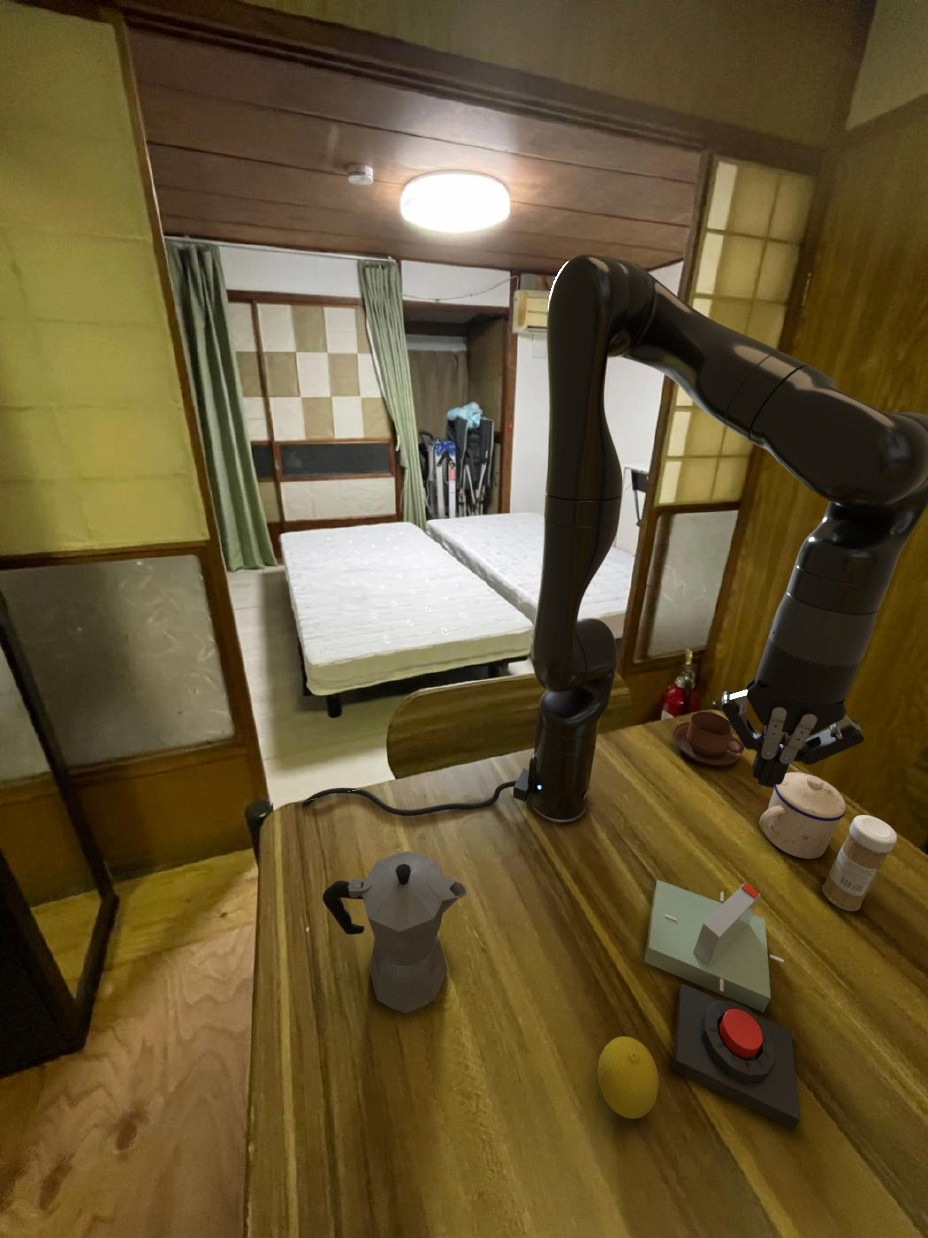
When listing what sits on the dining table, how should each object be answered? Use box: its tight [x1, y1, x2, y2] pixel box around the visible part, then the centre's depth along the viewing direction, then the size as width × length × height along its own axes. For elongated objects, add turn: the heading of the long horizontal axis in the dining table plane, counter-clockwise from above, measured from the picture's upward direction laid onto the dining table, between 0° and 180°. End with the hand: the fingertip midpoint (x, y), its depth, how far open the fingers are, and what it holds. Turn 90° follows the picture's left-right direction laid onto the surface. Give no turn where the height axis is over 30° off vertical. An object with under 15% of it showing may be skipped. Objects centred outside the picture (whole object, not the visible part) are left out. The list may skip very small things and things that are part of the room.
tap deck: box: [643, 879, 785, 1013], centre depth 63 cm, size 15×13×3 cm
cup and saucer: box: [672, 711, 745, 767], centre depth 96 cm, size 12×12×6 cm
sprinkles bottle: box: [821, 814, 898, 912], centre depth 68 cm, size 5×5×14 cm
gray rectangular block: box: [693, 882, 762, 966], centre depth 61 cm, size 9×2×6 cm, turn 125°
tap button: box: [720, 1009, 763, 1058], centre depth 52 cm, size 4×4×2 cm
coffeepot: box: [322, 850, 467, 1015], centre depth 57 cm, size 15×9×18 cm, turn 90°
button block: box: [671, 983, 801, 1131], centre depth 53 cm, size 11×8×4 cm
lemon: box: [597, 1035, 660, 1120], centre depth 49 cm, size 6×6×8 cm
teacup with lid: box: [758, 771, 847, 860], centre depth 77 cm, size 12×9×12 cm
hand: (764, 781), depth 56 cm, fingers closed
